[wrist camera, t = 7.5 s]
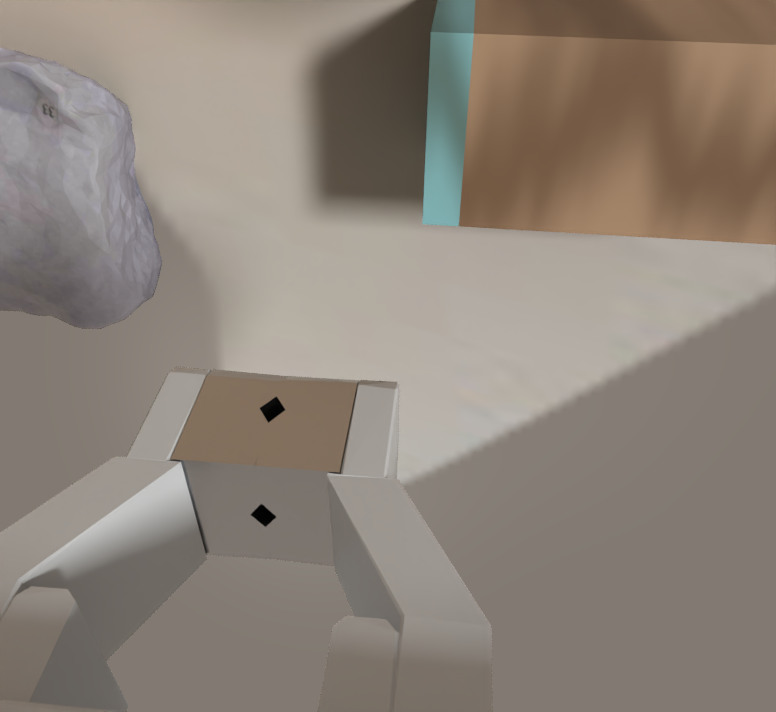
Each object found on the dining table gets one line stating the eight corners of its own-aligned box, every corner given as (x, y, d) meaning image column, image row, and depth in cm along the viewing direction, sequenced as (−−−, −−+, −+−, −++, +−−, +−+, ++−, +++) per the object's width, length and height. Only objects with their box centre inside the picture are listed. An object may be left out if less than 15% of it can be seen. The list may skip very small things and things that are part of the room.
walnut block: (430, 31, 17) (879, 48, 16) (440, -16, 21) (803, -4, 20) (422, 224, 20) (798, 246, 19) (432, 151, 24) (745, 167, 23)
